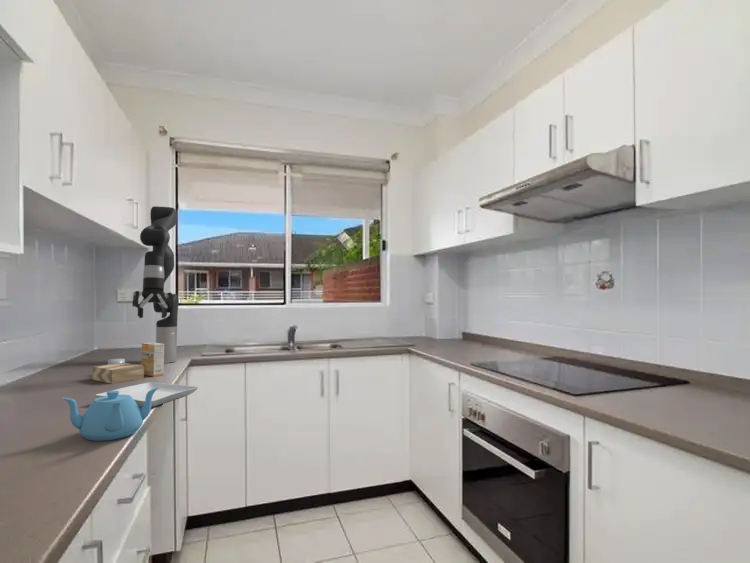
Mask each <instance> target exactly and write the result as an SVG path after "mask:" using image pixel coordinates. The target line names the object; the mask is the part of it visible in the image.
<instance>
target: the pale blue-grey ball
mask: <svg viewBox="0 0 750 563" xmlns="http://www.w3.org/2000/svg"><path fill="white" fill-rule="evenodd" d="M117 363H126V359H125V358H110V359H108V360H107V365H109V364H117Z"/></svg>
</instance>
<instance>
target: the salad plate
mask: <svg viewBox="0 0 750 563" xmlns="http://www.w3.org/2000/svg"><path fill="white" fill-rule="evenodd" d="M158 387H159V388H158ZM154 388H158V389H157V390H156V391H155V392H154V394H153V396H152V402H151V408H153V407H158V406H161V405H164V404H167V403H169V402H172V401H176V400H179V399H181V398H185V397H187V396H190V395H192V394H193V393H195V391H197V390H198V386H195V385H194V386H192V385H183V384H174V383H163V382H143V383H139V384H134V385H130V386H125V387H121V388H117V389H113V390H111V391H115V390H116V391H119V394H118V395H130V396H131V397H132V398H133V399H134V400H135V402H136V403H137V405H138V406H139V408H142V407H143V406H144V404H145V398H146V394H147V393H148V392H149V391H150V390H152V389H154ZM109 391H110V390H108V391H104V392H101V393H96V394H95V397H96V398H99V397H103V396H108V395H107V392H109Z"/></svg>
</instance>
